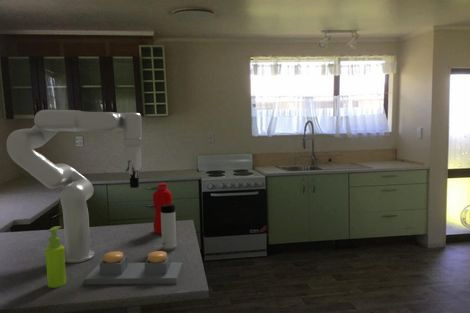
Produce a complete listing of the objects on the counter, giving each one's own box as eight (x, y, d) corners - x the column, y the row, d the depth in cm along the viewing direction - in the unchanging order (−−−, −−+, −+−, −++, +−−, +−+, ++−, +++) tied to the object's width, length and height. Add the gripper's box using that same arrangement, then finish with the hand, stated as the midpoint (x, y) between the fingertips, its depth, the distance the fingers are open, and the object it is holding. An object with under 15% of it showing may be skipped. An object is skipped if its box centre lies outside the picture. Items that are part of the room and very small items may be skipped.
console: (84, 284, 127) (84, 267, 127) (99, 268, 141) (99, 253, 141) (176, 283, 127) (176, 266, 127) (182, 267, 141) (182, 252, 140)
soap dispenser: (70, 278, 132) (67, 224, 130) (61, 287, 125) (58, 230, 123) (53, 279, 132) (50, 225, 130) (44, 288, 125) (40, 231, 123)
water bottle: (149, 230, 188) (147, 182, 185) (170, 228, 192) (168, 181, 190) (153, 236, 179) (151, 185, 177) (175, 232, 184) (173, 183, 182)
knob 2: (146, 273, 131) (145, 257, 130) (150, 266, 137) (150, 251, 137) (165, 273, 131) (164, 257, 130) (168, 265, 137) (168, 250, 137)
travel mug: (162, 251, 158) (161, 206, 156) (161, 246, 164) (160, 203, 162) (177, 250, 160) (175, 205, 158) (175, 245, 166) (174, 202, 164)
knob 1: (101, 274, 131) (100, 258, 130) (108, 266, 137) (107, 251, 137) (120, 273, 131) (119, 258, 130) (126, 266, 137) (125, 251, 137)
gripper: (129, 142, 157) (130, 184, 159) (117, 144, 142) (119, 191, 144) (146, 141, 157) (148, 184, 159) (137, 144, 142) (138, 190, 144)
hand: (134, 187), depth 151 cm, fingers closed
